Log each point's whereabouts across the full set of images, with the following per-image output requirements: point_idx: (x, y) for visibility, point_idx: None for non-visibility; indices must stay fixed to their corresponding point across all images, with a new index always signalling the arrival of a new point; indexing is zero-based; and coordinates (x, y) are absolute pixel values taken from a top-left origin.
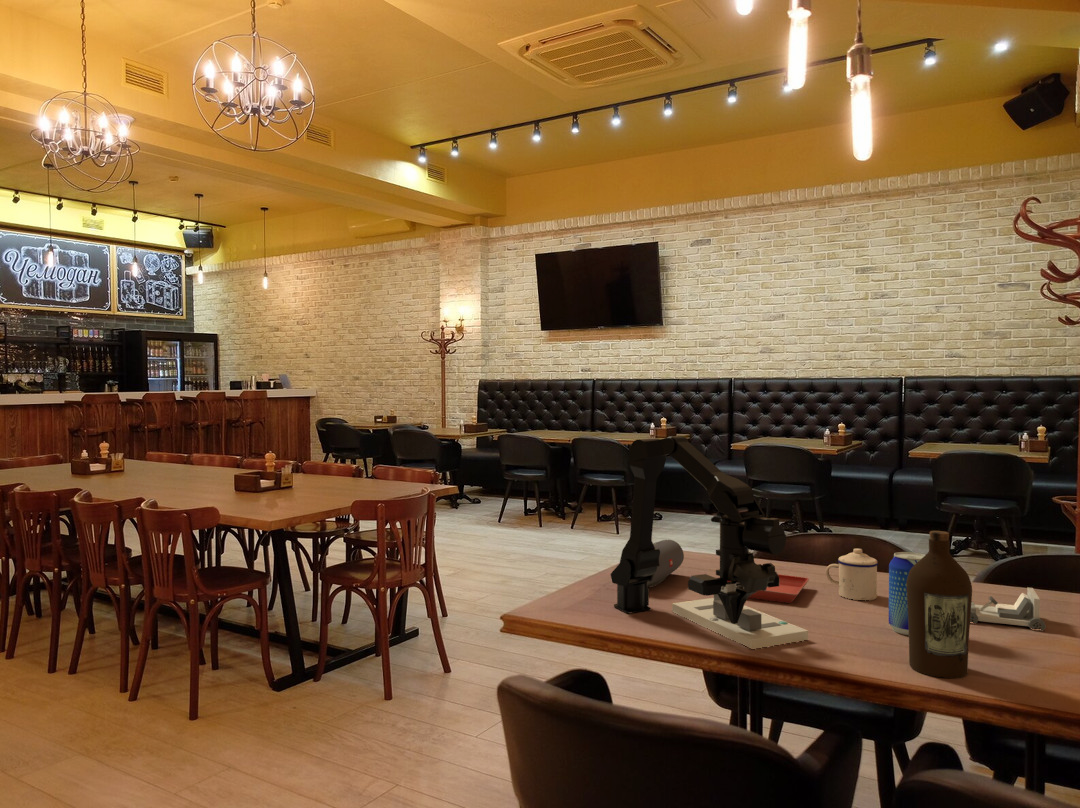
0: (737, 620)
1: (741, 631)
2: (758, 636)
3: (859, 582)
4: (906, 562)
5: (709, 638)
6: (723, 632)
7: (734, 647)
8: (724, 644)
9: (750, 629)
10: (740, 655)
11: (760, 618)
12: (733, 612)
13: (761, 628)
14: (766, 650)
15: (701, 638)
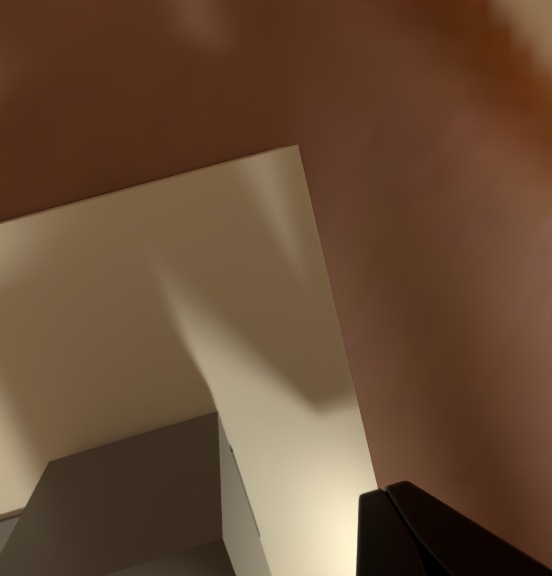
0: (375, 512)
1: (291, 433)
2: (174, 249)
3: None
4: None
5: (492, 474)
6: None
7: (405, 246)
8: (450, 330)
9: (202, 422)
10: (456, 20)
11: (16, 551)
12: (536, 569)
13: None
14: (143, 114)
15: (548, 478)
